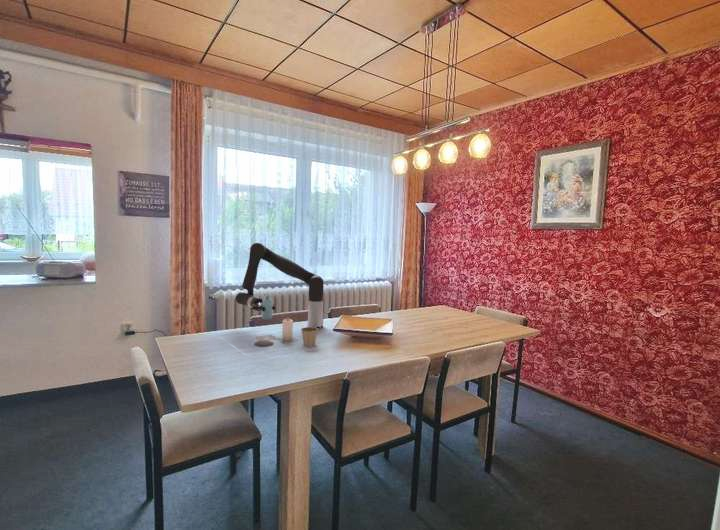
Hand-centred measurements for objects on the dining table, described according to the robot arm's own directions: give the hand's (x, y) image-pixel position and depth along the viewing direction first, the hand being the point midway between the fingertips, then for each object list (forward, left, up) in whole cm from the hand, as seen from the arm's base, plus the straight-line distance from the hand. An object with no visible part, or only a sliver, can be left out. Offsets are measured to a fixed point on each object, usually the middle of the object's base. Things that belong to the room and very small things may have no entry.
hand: (269, 308), depth 194 cm
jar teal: (0, -3, -6) cm, 7 cm away
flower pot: (-14, +19, -18) cm, 30 cm away
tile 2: (-8, +6, -18) cm, 21 cm away
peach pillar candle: (-8, +6, -17) cm, 20 cm away
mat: (+6, +6, -18) cm, 20 cm away
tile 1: (0, -3, -18) cm, 18 cm away
